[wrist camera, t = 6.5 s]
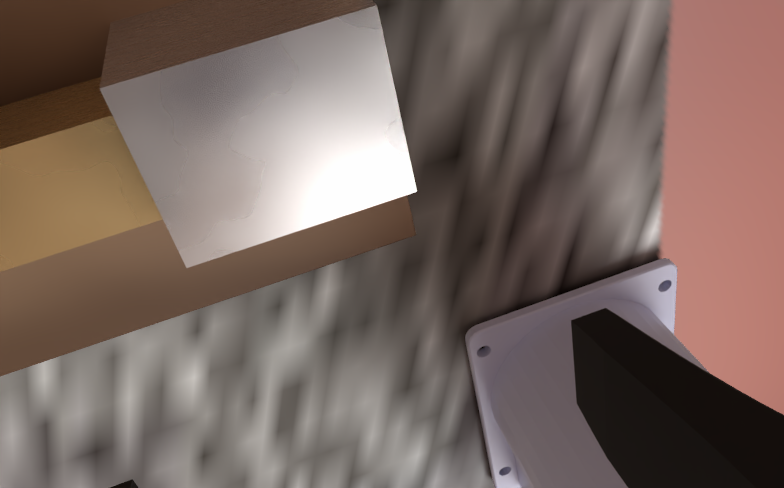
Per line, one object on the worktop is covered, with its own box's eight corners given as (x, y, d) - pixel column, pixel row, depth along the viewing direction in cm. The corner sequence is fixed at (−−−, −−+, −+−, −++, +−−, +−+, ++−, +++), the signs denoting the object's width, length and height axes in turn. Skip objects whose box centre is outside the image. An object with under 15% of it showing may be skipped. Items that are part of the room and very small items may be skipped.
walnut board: (406, 217, 21) (416, 234, 20) (-99, 387, 20) (-109, 413, 19) (294, -261, 14) (303, -264, 13) (-507, -58, 13) (-551, -47, 12)
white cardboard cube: (370, 117, 18) (417, 191, 15) (180, 178, 18) (186, 268, 14) (331, -42, 16) (376, 5, 12) (110, 22, 15) (99, 88, 12)
